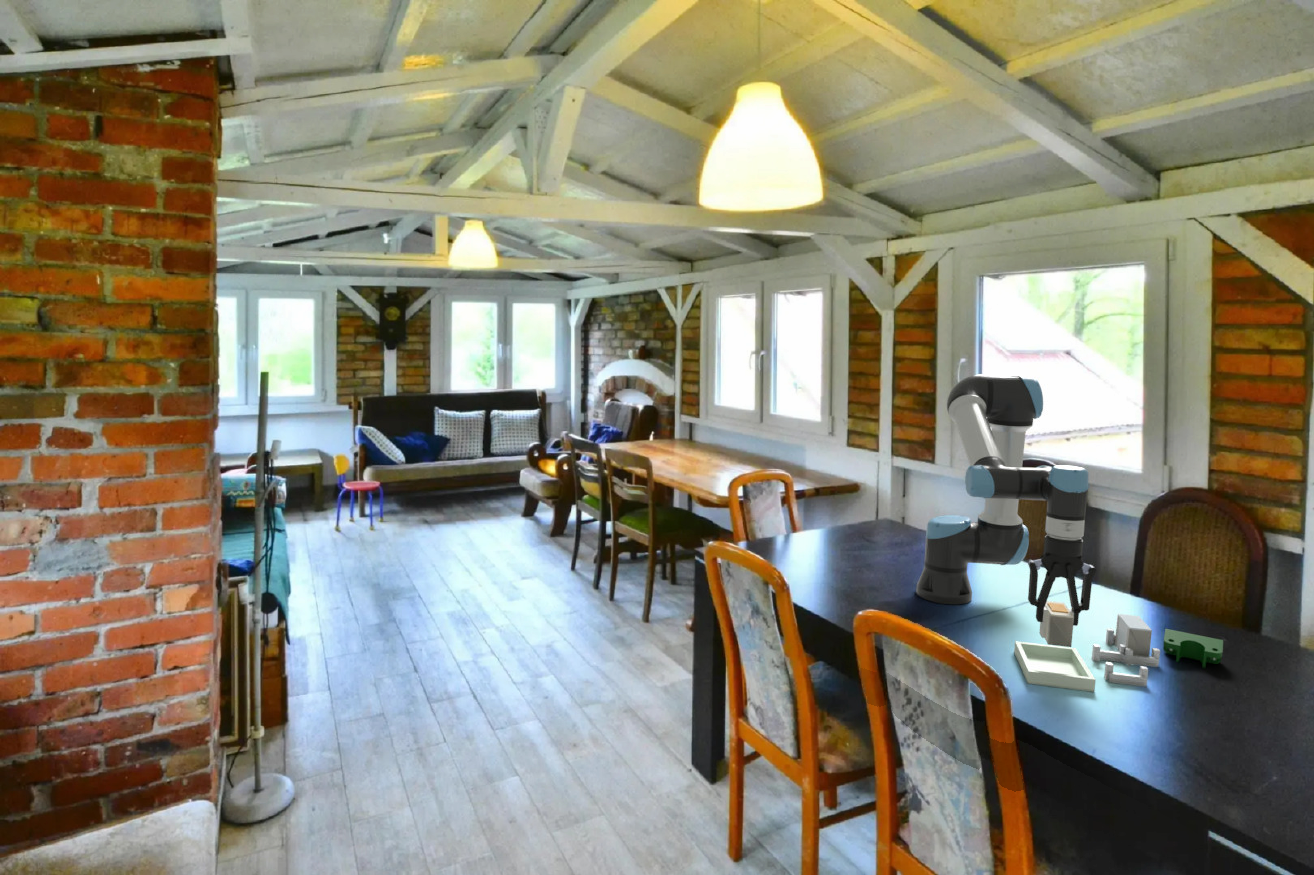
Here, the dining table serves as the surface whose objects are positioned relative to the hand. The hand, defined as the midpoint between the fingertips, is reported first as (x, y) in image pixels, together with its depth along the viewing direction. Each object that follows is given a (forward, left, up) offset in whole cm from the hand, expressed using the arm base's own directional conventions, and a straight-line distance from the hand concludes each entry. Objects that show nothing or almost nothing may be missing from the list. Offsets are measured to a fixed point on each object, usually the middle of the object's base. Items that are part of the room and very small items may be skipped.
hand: (1055, 636), depth 169 cm
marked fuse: (0, 0, 0) cm, 0 cm away
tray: (0, 0, -8) cm, 8 cm away
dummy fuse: (+20, +17, -8) cm, 28 cm away
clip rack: (+17, +11, -8) cm, 22 cm away
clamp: (+33, +16, -9) cm, 38 cm away
